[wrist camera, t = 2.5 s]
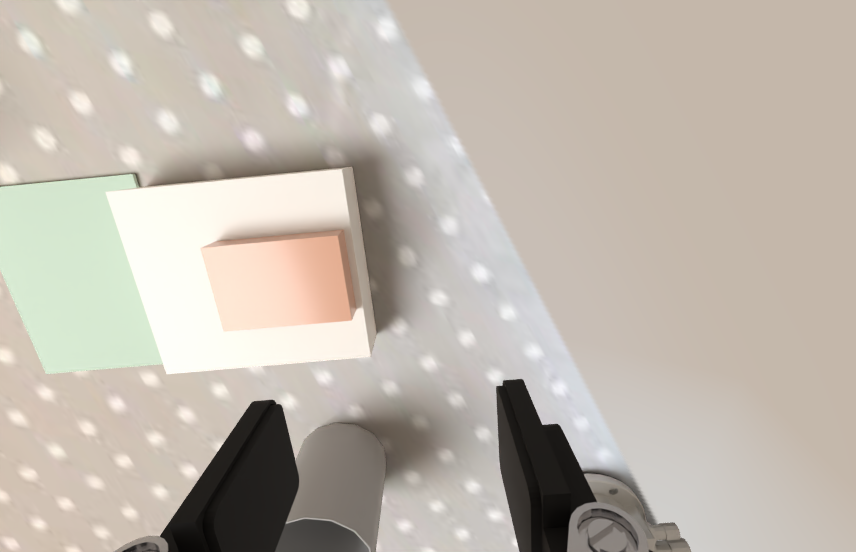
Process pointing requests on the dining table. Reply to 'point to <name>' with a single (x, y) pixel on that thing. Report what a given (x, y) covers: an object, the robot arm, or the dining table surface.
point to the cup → (336, 492)
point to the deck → (228, 220)
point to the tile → (281, 280)
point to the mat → (73, 275)
